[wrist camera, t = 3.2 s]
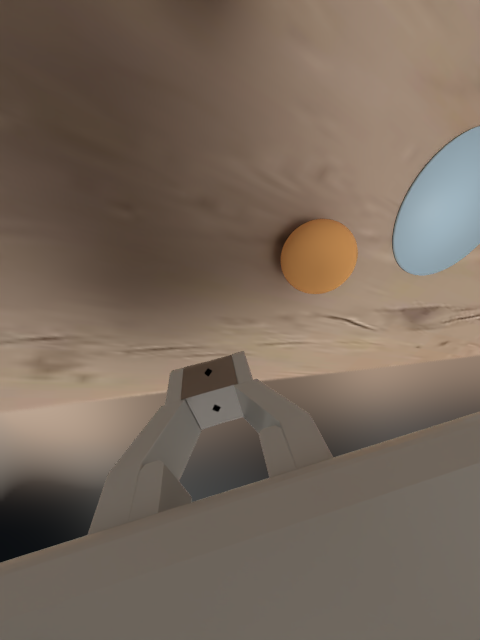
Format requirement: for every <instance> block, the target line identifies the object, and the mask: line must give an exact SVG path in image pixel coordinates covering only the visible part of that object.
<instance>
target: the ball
mask: <svg viewBox="0 0 480 640" xmlns="http://www.w3.org/2000/svg"><path fill="white" fill-rule="evenodd" d="M357 255H358V250H357V244H356V241H355V238H354V236H353V234H352V233H351V232H350V230H349V229H348V228H347V227H345V226H344V225H343V224H341V223H339V222H337V221H334V220H330V219H316V220H312V221H309V222H306V223H304V224H302V225H301V226H299V227H298V228H297V229H295V230H294V231H293V232H292V233H291V234H290V236H289V237H288V239H287V240H286V242H285V244H284V246H283V249H282V253H281V268H282V271H283V274H284V276H285V278H286V279H287V281H288V282H289V283H290V284H291V285H292V286H293V287H294V288H296V289H298V290H299V291H302V292H305V293H309V294H321V293H326V292H329V291H331V290H334V289H336V288H337V287H339V286H340V285H341V284H343V283H344V282H345V281H346V280H347V279H348V277H349V276H350V275H351V273H352V272H353V270H354V267H355V265H356V261H357Z"/></svg>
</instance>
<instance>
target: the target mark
mask: <svg viewBox="0 0 480 640" xmlns="http://www.w3.org/2000/svg"><path fill="white" fill-rule="evenodd" d="M479 243H480V126H478V127H475V128H472V129H470V130H468V131H466V132H464V133H462V134H461V135H459V136H458V137H456V138H455V139H453V140H452V141H451V142H449V143H448V144H447V145H445V146H444V147H443V148H442V149H441V150H440V151H439V152H438V153H437V154H436V155H435V156H434V157H433V158H432V159H431V160H430V161H429V162H428V163H427V165H426V166H425V167H424V168H423V170H422V171H421V172H420V173H419V175H418V176H417V178H416V179H415V181H414V182H413V184H412V185H411V187H410V189H409V191H408V192H407V194H406V196H405V198H404V200H403V202H402V205H401V207H400V209H399V212H398V215H397V218H396V222H395V225H394V231H393V242H392V245H393V253H394V257H395V259H396V261H397V263H398V265H399V266H400V267H401V268H402V269H403V270H404V271H406V272H408V273H411V274H414V275H429V274H434V273H437V272H440V271H442V270H444V269H446V268H448V267H450V266H452V265H454V264H455V263H457V262H458V261H460V260H461V259H462V258H464V257H465V256H466V255H468V254H469V253H470V252H471V251H472V250H473V249H474V248H475V247H476V246H477V245H478V244H479Z"/></svg>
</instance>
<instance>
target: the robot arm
mask: <svg viewBox="0 0 480 640" xmlns="http://www.w3.org/2000/svg"><path fill="white" fill-rule="evenodd" d="M242 417H244V418H245V419H246V420H247V422H249V424H250V425H252V427H253V428H254V429H255V430H256V431H257V432H258V433H259V437H260V441H261V445H262V449H263V453H264V457H265V461H266V465H267V469H268V473H269V477H270V478H268V479H264V480H261V481H259V482H255V483H252V484H249V485H245V486H243V487H239V488H236V489H233V490H230V491H226V492H223V493H220V494H217V495H214V496H211V497H207V498H204V499H201V500H198V501H195V502H192V497H191V496H190V494H189V493H188V492H187V491H186V489H185V488H184V487H183V486H182V485H181V483H180V482H179V480H180V478H181V476H182V473H183V471H184V469H185V467H186V464H187V462H188V460H189V458H190V455H191V453H192V451H193V449H194V446H195V444H196V442H197V440H198V437H199V435H200V433H201V430H202V429H205V428H208V427H211V426H214V425H217V424H220V423H222V422H227V421H231V420H235V419H239V418H242ZM0 640H480V412H477V413H474V414H471V415H467V416H464V417H461V418H458V419H455V420H451V421H449V422H445V423H442V424H439V425H436V426H433V427H430V428H426V429H423V430H420V431H417V432H413V433H410V434H407V435H404V436H401V437H398V438H394V439H391V440H388V441H385V442H382V443H379V444H375V445H373V446H369V447H366V448H363V449H360V450H357V451H354V452H350V453H347V454H344V455H341V456H337V457H334V458H333V457H332V455H331V453H330V451H329V449H328V447H327V445H326V443H325V441H324V440H323V438H322V436H321V434H320V432H319V430H318V428H317V426H316V425H315V423H314V421H313V419H312V417H311V415H310V414H309V413H308V412H306V411H305V410H303V409H302V408H300V407H299V406H297V405H296V404H294V403H292V402H291V401H289V400H288V399H287V398H285V397H283V396H282V395H280V394H279V393H277V392H276V391H274V390H273V389H271V388H270V387H268V386H267V385H265V384H264V383H262V382H261V381H259V380H258V379H254V380H253V378H252V375H251V372H250V369H249V365H248V362H247V359H246V356H245V353H244V351H241V352H238V353H234V354H232V355H228V356H225V357H221V358H218V359H214V360H211V361H207V362H203V363H199V364H195V365H191V366H187V367H184V368H180V369H176V370H172V371H171V373H170V377H169V384H168V390H167V396H166V402H165V405H164V406H161V407H160V408H159V410H158V411H157V412H156V413H155V415H154V416H153V417H152V418H151V420H150V421H149V422H148V424H147V425H146V426H145V427H144V429H143V430H142V431H141V432H140V434H139V435H138V436H137V438H136V439H135V440H134V441H133V443H132V444H131V445H130V446H129V448H128V449H127V450H126V452H125V453H124V454H123V455H122V457H121V458H120V459H119V460H118V462H117V463H116V464H115V466H114V467H113V468H112V469H111V471H110V472H109V473H108V475H107V479H106V481H105V484H104V488H103V490H102V494H101V496H100V499H99V502H98V505H97V508H96V511H95V515H94V518H93V520H92V523H91V527H90V530H89V532H88V535H87V536H84V537H80V538H77V539H74V540H71V541H68V542H65V543H62V544H58V545H55V546H52V547H49V548H46V549H43V550H39V551H36V552H33V553H30V554H27V555H24V556H20V557H17V558H14V559H11V560H8V561H5V562H1V563H0Z"/></svg>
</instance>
